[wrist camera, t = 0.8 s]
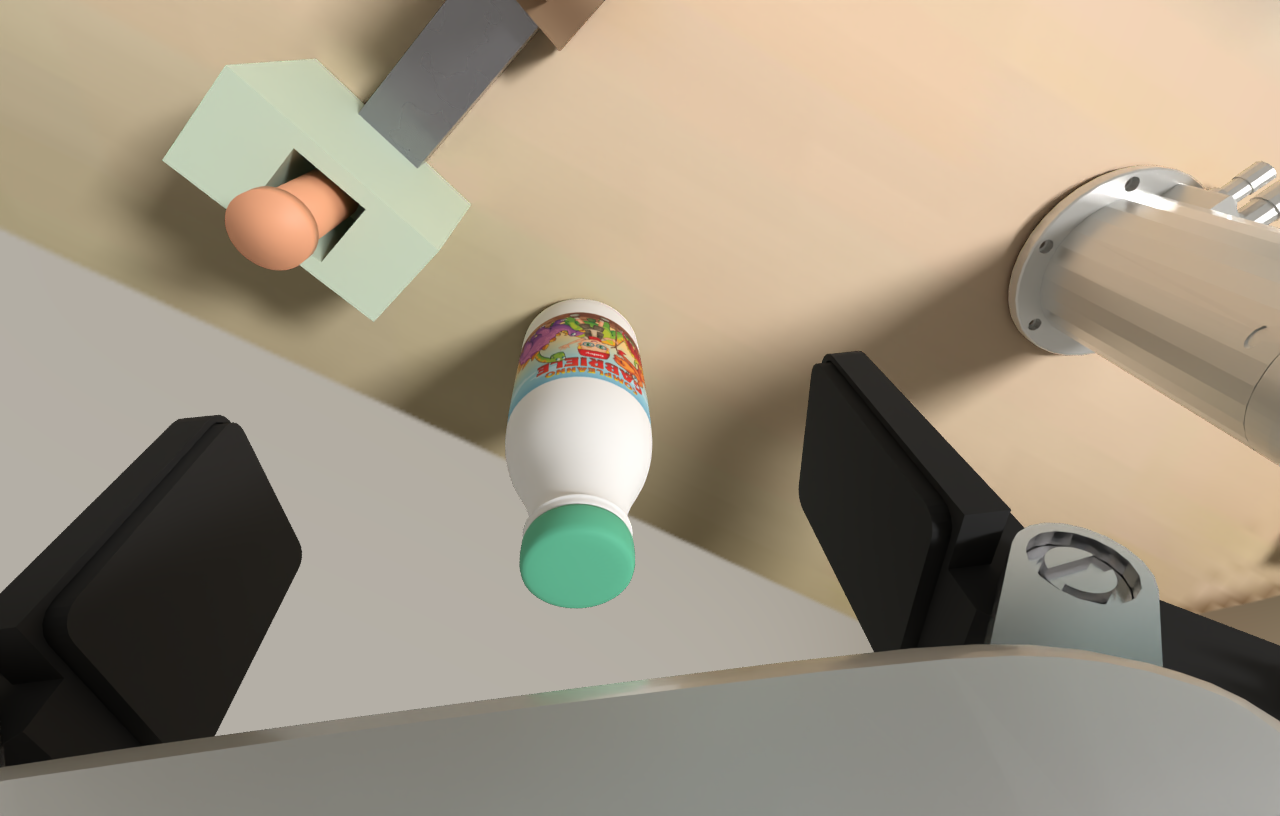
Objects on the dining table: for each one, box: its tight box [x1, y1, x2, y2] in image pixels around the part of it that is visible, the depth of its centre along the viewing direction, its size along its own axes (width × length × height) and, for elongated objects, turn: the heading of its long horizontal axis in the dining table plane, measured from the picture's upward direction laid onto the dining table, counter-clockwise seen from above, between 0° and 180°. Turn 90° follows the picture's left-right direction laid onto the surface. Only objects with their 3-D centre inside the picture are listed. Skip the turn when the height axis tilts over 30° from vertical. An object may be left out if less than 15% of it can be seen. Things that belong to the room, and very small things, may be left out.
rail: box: [358, 0, 540, 168], centre depth 29 cm, size 16×4×4 cm, turn 133°
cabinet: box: [162, 59, 471, 322], centre depth 30 cm, size 5×10×9 cm, turn 43°
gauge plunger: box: [225, 168, 359, 270], centre depth 25 cm, size 3×3×7 cm
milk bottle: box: [505, 299, 652, 608], centre depth 32 cm, size 8×8×20 cm
